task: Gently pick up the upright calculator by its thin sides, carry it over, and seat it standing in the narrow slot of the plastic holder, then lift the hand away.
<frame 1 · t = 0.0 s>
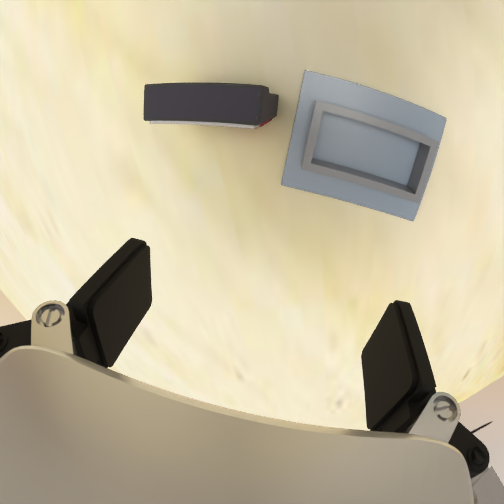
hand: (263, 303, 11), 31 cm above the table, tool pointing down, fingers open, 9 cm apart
calculator: (236, 102, 36), on the table
desk holder: (366, 147, 35), on the table
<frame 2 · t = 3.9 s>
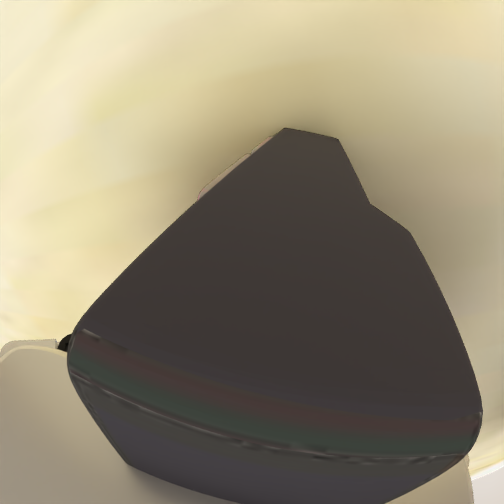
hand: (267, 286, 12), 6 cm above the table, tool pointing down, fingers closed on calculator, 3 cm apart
calculator: (292, 223, 17), on the table, touching gripper
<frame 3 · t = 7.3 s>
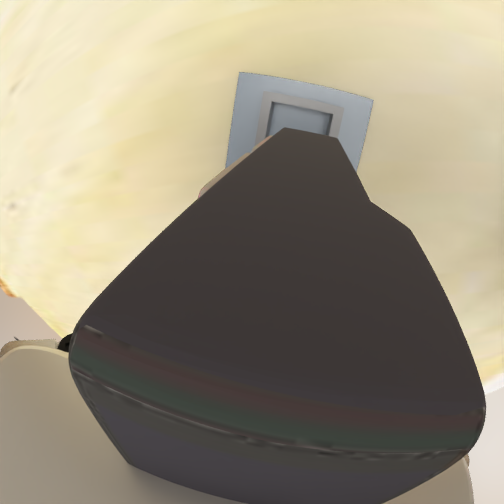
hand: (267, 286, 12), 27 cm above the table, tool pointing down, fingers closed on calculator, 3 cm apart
calculator: (292, 222, 17), point 21 cm above the table, touching gripper
desk holder: (292, 160, 35), on the table
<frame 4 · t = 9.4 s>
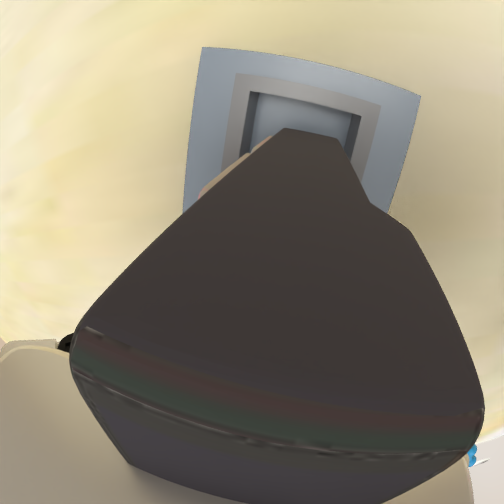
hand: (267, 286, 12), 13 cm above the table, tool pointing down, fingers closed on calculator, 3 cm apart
calculator: (291, 223, 17), point 6 cm above the table, touching gripper
desk holder: (287, 189, 23), on the table
when the fingers open (7 cm above the table, at t = 11.2 s): calculator stays where it is, resting on desk holder.
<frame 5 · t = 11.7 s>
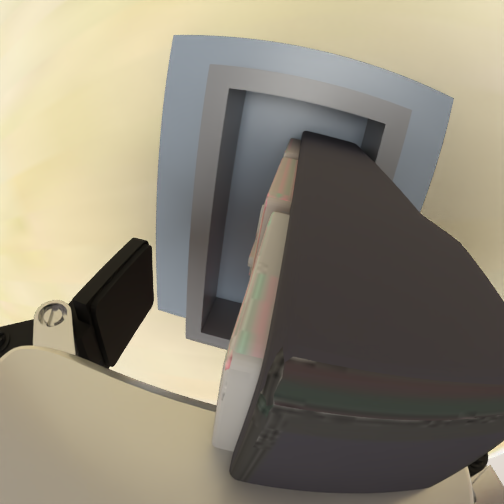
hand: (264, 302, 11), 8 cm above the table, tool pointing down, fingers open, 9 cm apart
calculator: (306, 224, 17), point 1 cm above the table, touching desk holder
desk holder: (283, 214, 18), on the table
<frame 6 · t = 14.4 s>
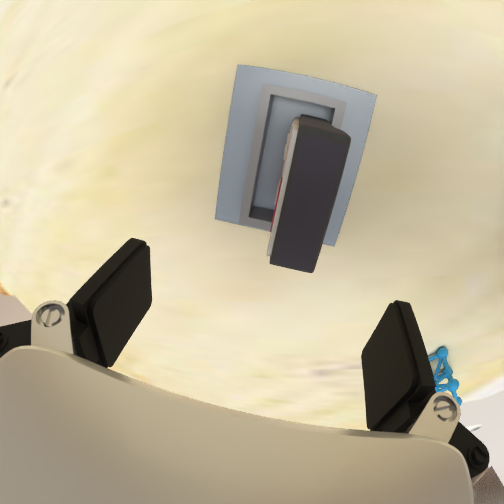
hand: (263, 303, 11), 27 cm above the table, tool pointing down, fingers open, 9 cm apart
calculator: (303, 160, 33), point 1 cm above the table, touching desk holder
molecular structure: (426, 366, 48), on the table
desk holder: (291, 156, 34), on the table
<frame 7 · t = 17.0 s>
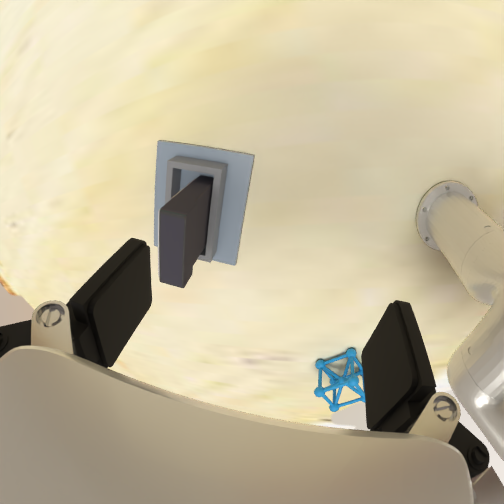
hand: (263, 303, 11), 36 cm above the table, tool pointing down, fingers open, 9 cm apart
calculator: (205, 206, 49), point 1 cm above the table, touching desk holder
molecular structure: (342, 363, 63), on the table
desk holder: (198, 203, 49), on the table
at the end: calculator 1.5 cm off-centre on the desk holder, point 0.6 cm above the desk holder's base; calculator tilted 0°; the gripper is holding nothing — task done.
